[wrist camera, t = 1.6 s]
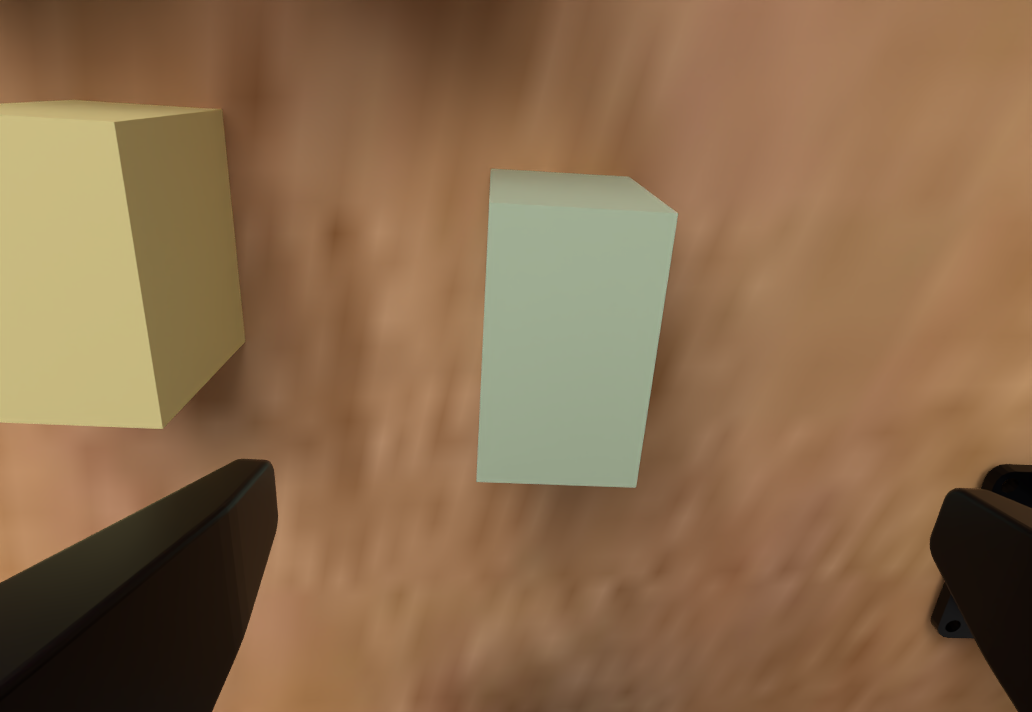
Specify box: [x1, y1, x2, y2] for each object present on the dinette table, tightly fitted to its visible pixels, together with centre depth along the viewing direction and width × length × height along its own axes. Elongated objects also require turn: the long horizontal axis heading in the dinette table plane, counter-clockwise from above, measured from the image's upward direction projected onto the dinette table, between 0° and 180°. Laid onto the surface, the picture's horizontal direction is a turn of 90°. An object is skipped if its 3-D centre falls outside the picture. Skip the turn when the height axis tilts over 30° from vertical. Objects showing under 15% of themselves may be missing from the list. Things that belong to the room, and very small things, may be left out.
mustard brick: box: [0, 100, 245, 429], centre depth 15 cm, size 6×4×5 cm, turn 177°
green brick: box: [476, 169, 678, 488], centre depth 16 cm, size 6×4×5 cm, turn 176°
